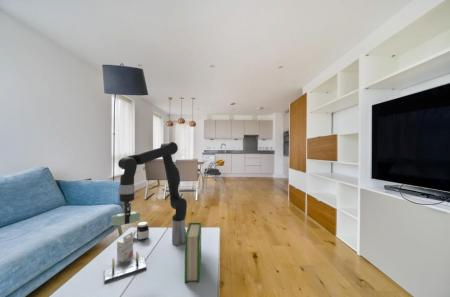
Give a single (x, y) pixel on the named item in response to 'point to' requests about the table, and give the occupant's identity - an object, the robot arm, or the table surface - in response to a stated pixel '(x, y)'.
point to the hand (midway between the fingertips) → (126, 222)
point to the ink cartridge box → (125, 247)
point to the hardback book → (193, 252)
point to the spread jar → (142, 231)
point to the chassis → (124, 268)
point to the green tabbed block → (120, 218)
